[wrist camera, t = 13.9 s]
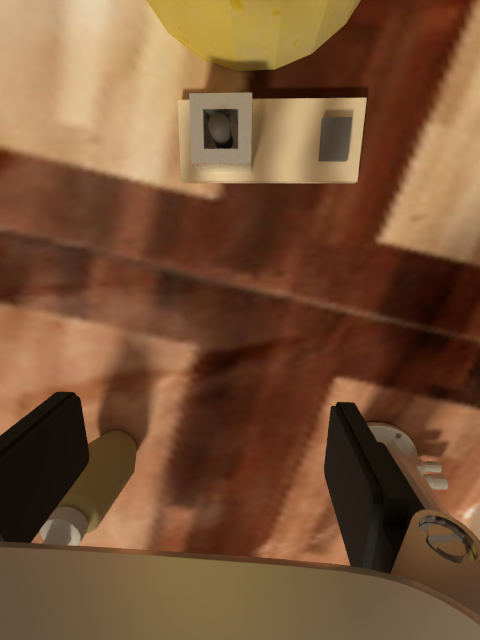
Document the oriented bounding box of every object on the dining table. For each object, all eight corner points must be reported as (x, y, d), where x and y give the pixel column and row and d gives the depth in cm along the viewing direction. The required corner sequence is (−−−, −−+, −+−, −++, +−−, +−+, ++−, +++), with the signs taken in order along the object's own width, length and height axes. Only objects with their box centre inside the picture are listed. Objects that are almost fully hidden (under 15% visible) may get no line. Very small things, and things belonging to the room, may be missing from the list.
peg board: (362, 102, 31) (387, 71, 25) (353, 183, 34) (375, 171, 28) (180, 104, 32) (163, 74, 26) (183, 182, 34) (168, 171, 28)
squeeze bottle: (128, 416, 44) (46, 532, 27) (153, 457, 46) (91, 590, 29) (84, 432, 45) (-21, 553, 28) (110, 472, 47) (26, 607, 30)
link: (252, 110, 31) (252, 92, 27) (251, 172, 33) (251, 163, 29) (197, 110, 31) (189, 93, 27) (198, 171, 33) (191, 163, 29)
